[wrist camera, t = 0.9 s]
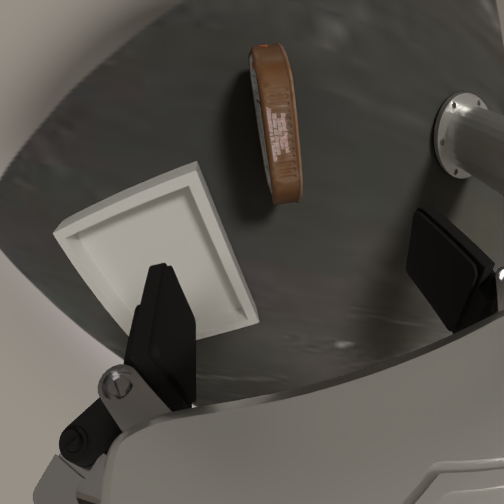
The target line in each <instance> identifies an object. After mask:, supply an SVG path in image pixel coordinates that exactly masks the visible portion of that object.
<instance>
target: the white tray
mask: <svg viewBox="0 0 504 504" xmlns="http://www.w3.org/2000/svg"><path fill="white" fill-rule="evenodd" d="M53 235H54V236H55V238H56V239H57V241H58V243H59V244H60V246H61V247H62V249H63V250H64V252H65V253H66V255H67V256H68V258H69V259H70V261H71V262H72V264H73V265H74V267H75V268H76V270H77V271H78V272H79V274H80V275H81V277H82V278H83V279H84V281H85V282H86V284H87V285H88V286H89V288H90V289H91V290H92V292H93V293H94V294H95V296H96V297H97V298H98V300H99V301H100V302H101V303H102V305H103V306H104V307H105V308H106V310H107V311H108V312H109V313H110V315H111V316H112V317H113V318H114V320H115V321H116V322H117V323H118V324H119V326H120V327H121V328H122V329H123V330H124V332H125V333H126V334H127V335H128V336H129V334H130V329H131V325H132V320H133V316H134V311H135V308H136V306H137V305H139V304H140V303H141V299H142V294H143V290H144V286H145V282H146V278H147V274H148V270H149V267H150V266H152V265H156V264H160V263H166V264H167V266H170V265H171V266H172V267H173V269H174V271H175V274H176V276H177V279H178V281H179V283H180V285H181V288H182V290H183V292H184V295H185V297H186V299H187V301H188V304H189V306H190V308H191V310H192V312H193V315H194V317H195V321H196V340H198V339H202V338H206V337H210V336H213V335H217V334H221V333H224V332H228V331H232V330H235V329H239V328H242V327H246V326H249V325H253V324H256V323H259V319H258V314H257V309H256V305H255V303H254V300H253V298H252V296H251V293H250V291H249V288H248V286H247V284H246V281H245V279H244V276H243V274H242V271H241V269H240V266H239V264H238V262H237V259H236V257H235V254H234V252H233V249H232V247H231V244H230V242H229V239H228V237H227V234H226V232H225V229H224V227H223V224H222V222H221V219H220V217H219V214H218V212H217V209H216V207H215V204H214V202H213V199H212V197H211V194H210V192H209V189H208V187H207V184H206V182H205V179H204V177H203V174H202V171H201V169H200V166H199V164H198V161H195V162H193V163H190V164H187V165H185V166H182V167H179V168H177V169H174V170H172V171H169V172H167V173H164V174H162V175H159V176H157V177H154V178H152V179H149V180H147V181H145V182H142V183H140V184H138V185H135V186H133V187H131V188H128V189H126V190H124V191H122V192H119V193H117V194H115V195H113V196H111V197H108V198H106V199H104V200H102V201H100V202H98V203H96V204H94V205H92V206H90V207H88V208H86V209H84V210H82V211H80V212H78V213H76V214H74V215H72V216H70V217H68V218H66V219H64V220H63V221H62V222H61V223H60V225H59V226H58V227H57V229H56V230H55V231H54V232H53Z"/></svg>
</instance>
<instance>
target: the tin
mask: <svg viewBox="0 0 504 504" xmlns="http://www.w3.org/2000/svg"><path fill="white" fill-rule="evenodd" d="M249 69H250V77H251V85H252V92H253V99H254V106H255V114H256V121H257V128H258V134H259V141H260V147H261V153H262V160H263V166H264V171H265V177H266V182H267V186H268V189H269V191H270V192H271V195H272V202H273V204H285V203H292V202H297V203H299V202H301V199H302V192H303V180H302V164H301V152H300V141H299V131H298V121H297V111H296V102H295V92H294V84H293V78H292V73H291V69H290V64H289V61H288V58H287V54H286V52H285V50H284V48H283V46H282V45H281V44H280V43H276V44H271V45H259V46H254V47H252V49H251V51H250V53H249Z"/></svg>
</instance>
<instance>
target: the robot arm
mask: <svg viewBox="0 0 504 504" xmlns="http://www.w3.org/2000/svg"><path fill="white" fill-rule="evenodd" d="M434 147H435V153H436V156H437V159H438V161H439V163H440V165H441V167H442V168H443V169H444V170H445V171H446V172H447V173H448V174H450V175H452V176H453V177H456V178H459V179H462V178H468V177H470V176H474V177H475V178H477V179H478V180H480V181H482V182H483V183H485V184H486V185H488V186H489V187H491V188H492V189H494V190H495V191H497V192H498V193H500V194H501V195H503V196H504V116H503V115H500V114H498V113H495V112H492V111H489V110H488V109H487V107H486V105H485V104H484V103H483V101H482V100H481V99H480V98H478V97H477V96H476V95H473V94H471V93H466V92H459V93H456V94H453V95H452V96H451V97H449V98H448V99H447V100H446V101H445V103H444V104H443V106H442V107H441V109H440V111H439V113H438V116H437V119H436V123H435V129H434ZM494 265H495V263H494V262H493V261H492V260H491V259H490V258H489V257H488V256H487V255H486V254H485V253H484V252H483V251H482V250H481V249H480V248H479V247H478V246H477V245H476V244H474V243H473V242H472V241H471V240H470V239H469V238H468V237H467V236H466V235H465V234H464V233H463V232H461V231H460V230H459V229H458V228H457V227H456V226H455V225H454V224H452V223H451V222H450V221H449V220H448V219H447V218H445V217H444V216H443V215H442V214H441V213H439V212H438V211H437V210H436V209H435V208H433V207H432V206H425V207H420V208H418V209H417V210H416V212H415V213H414V216H413V224H412V232H411V239H410V246H409V252H408V258H407V264H406V270H407V273H408V275H409V276H410V277H411V279H412V280H413V281H414V283H415V284H416V285H417V287H418V288H419V289H420V291H421V292H422V293H423V295H424V296H425V298H426V299H427V300H428V302H429V303H430V305H431V306H432V307H433V309H434V310H435V312H436V313H437V315H438V316H439V317H440V319H441V320H442V322H443V323H444V325H445V326H446V328H447V329H448V330H449V331H452V333H453V334H452V335H450V336H448V337H446V338H444V339H441V340H439V341H437V342H434V343H432V344H430V345H427V346H425V347H422V348H420V349H418V350H415V351H413V352H410V353H407V354H405V355H402V356H400V357H397V358H394V359H392V360H389V361H386V362H383V363H380V364H377V365H375V366H372V367H369V368H366V369H362V370H359V371H356V372H353V373H350V374H346V375H343V376H340V377H336V378H333V379H329V380H326V381H322V382H318V383H315V384H311V385H307V386H303V387H299V388H295V389H291V390H286V391H282V392H277V393H272V394H268V395H263V396H258V397H253V398H248V399H242V400H237V401H231V402H225V403H219V404H213V405H206V406H201V407H195V408H192V402H195V401H196V321H195V317H194V315H193V312H192V310H191V308H190V306H189V304H188V301H187V299H186V297H185V295H184V292H183V290H182V288H181V285H180V283H179V281H178V279H177V276H176V274H175V271H174V269H173V267H172V266H171V265H170V266H167V264H166V263H160V264H156V265H152V266H150V267H149V270H148V274H147V278H146V282H145V286H144V290H143V294H142V299H141V303H140V304H139V305H137V306H136V308H135V311H134V316H133V320H132V325H131V329H130V334H129V339H128V343H127V349H126V354H125V359H124V364H123V365H122V364H119V365H116V366H113V367H111V368H110V369H108V370H107V371H106V372H105V373H104V374H103V375H102V377H101V378H100V381H99V384H98V394H99V396H100V398H99V399H97V400H96V401H95V402H94V403H93V404H92V405H91V406H90V407H88V408H87V409H86V410H85V411H84V412H83V413H82V414H81V415H80V416H79V417H77V419H75V420H74V421H73V422H72V423H71V424H70V425H69V426H67V427H66V428H65V430H64V431H63V432H62V434H61V436H60V440H59V449H60V452H61V453H60V454H59V456H58V455H54V457H53V459H52V461H51V462H50V464H49V466H48V467H47V469H46V471H45V472H44V474H43V475H42V478H41V479H40V481H39V482H38V484H37V486H36V487H35V490H34V492H33V501H34V504H504V266H501V267H499V268H497V270H496V272H494V271H493V267H494Z"/></svg>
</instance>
